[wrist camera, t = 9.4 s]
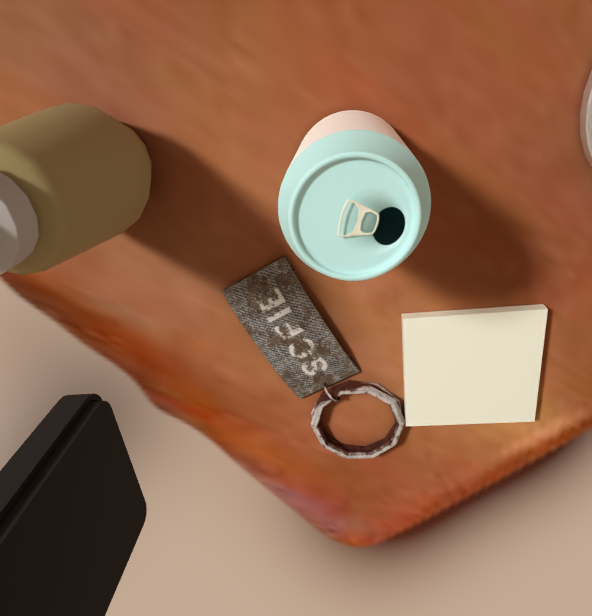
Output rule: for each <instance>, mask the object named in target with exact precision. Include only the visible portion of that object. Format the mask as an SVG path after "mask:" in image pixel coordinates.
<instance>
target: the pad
mask: <svg viewBox="0 0 592 616" xmlns="http://www.w3.org/2000/svg"><path fill="white" fill-rule="evenodd" d="M547 312H548V309H547V307H546V306H545V305H544V304H537V305H523V306H508V307H493V308H479V309H464V310H450V311H435V312H421V313H406V314H402V346H403V379H404V412H405V424H406V426H430V425H456V424H481V423H507V422H533V421H535V413H536V405H537V396H538V388H539V380H540V371H541V363H542V354H543V346H544V337H545V329H546V321H547Z"/></svg>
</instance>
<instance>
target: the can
mask: <svg viewBox="0 0 592 616" xmlns="http://www.w3.org/2000/svg"><path fill="white" fill-rule="evenodd" d="M430 211H431V194H430V188H429V183H428V180H427V177H426V174H425V172H424V170H423V168H422V166H421V165H420V163H419V161H418V160H417V159H416V158H415V156H414V155H413V154H412V152H411V151H410V150H409V148H408V147H407V146H406V145H405V143H404V142H403V141H402V139H401V138H400V137H399V135H398V134H397V133H396V132H395V130H394V129H393V128H392V127H391V126H390V125H389V124H388V123H387V122H386V121H384V120H383V119H381V118H380V117H378V116H376V115H374V114H371V113H368V112H364V111H357V110H348V111H341V112H337V113H334V114H332V115H329V116H327V117H325V118H324V119H322V120H321V121H319V122H318V123H317V124H316V125H314V126H313V127H312V128H311V130H310V131H309V132H308V133H307V134H306V136H305V137H304V139H303V141H302V143H301V145H300V147H299V149H298V151H297V153H296V155H295V157H294V158H293V160H292V162H291V164H290V166H289V168H288V170H287V172H286V175H285V177H284V179H283V182H282V185H281V188H280V192H279V199H278V215H279V221H280V225H281V229H282V232H283V234H284V237H285V239H286V241H287V243H288V244H289V246H290V247H291V249H292V250H293V251H294V253H295V254H296V255H297V256H298V257H299V258H300V259H301V260H302V261H303V262H304V263H305V264H307V265H308V266H309V267H311V268H312V269H314V270H316V271H318V272H320V273H322V274H324V275H326V276H329V277H332V278H335V279H339V280H346V281H361V280H367V279H371V278H375V277H377V276H380V275H382V274H384V273H386V272H388V271H390V270H391V269H393V268H395V267H396V266H398V265H399V264H400V263H402V262H403V261H404V260H405V259H406V258H407V257H408V256H409V255H410V254H411V253H412V252H413V251H414V249H415V248H416V247H417V245H418V244H419V242H420V241H421V239H422V237H423V235H424V233H425V230H426V228H427V225H428V221H429V217H430Z"/></svg>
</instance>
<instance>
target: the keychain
mask: <svg viewBox="0 0 592 616" xmlns="http://www.w3.org/2000/svg"><path fill="white" fill-rule="evenodd" d="M293 271H294V268H293V267H292V265H291V264H290V262H289V261H288V260H287V258H286V257H285V256H284V257H282V258H280V259H278V260H277V261H275V262H273V263H271V264H269V265H268V266H266V267H264V268H262V269H260V270H259V271H257V272H255V273H253V274H251V275H250V276H248V277H246V278H244V279H243V280H241V281H239V282H237V283H235V284H234V285H232V286H230V287H228V288H226V289H225V290H223V291H222V293H223V294H224V296H225V298H226V299H227V301H228V302H229V304H230V306H231V307H232V309H233V311H234V312H235V314H236V315H237V317H238V319H239V320H240V322H241V323H242V325H243V326H244V328H245V329H246V331H247V332H248V333H249V335H250V336H251V338H252V339H253V340H254V342H255V343H256V345H257V346H258V347H259V349H260V350H261V352H262V353H263V354H264V356H265V357H266V358H267V360H268V361H269V362H270V364H271V365H272V366H273V368H274V369H275V370H276V372H277V373H278V374H279V376H280V377H281V378H282V379H283V380H284V382H285V383H286V384H287V385H288V386H289V387H290V388H291V390H292V391H293V392H294V393H295V394H296V395H297V396H298V397H299V399H300V398H302V397H305V396H307V395H309V394H311V393H314V392H316V391H318V390H320V389H322V388H324V389H325V391H323V392H322V394H321V396H320V397H319V399H318V401H317V403H316V405H315V406H314V408H313V410H312V412H311V415H312V421H311V426H312V428H313V430H314V432H315V434H316V436H317V438H318V440H319V441H320V443H321V445H322V446H323V447H324V448H326V449H328V450H330V451H332V452H334V453H336V454H338V455H340V456H342V457H344V458H346V459H354V458H374V457H376V456H378V455H379V454H381V453H383V452H385V451H386V450H388V449H390V448H392V447H393V446H395V445H396V444H397V442H398V439H399V437H400V434H401V432H402V429H403V427H404V424H405V419H404V417H403V415H402V410H401V405H400V400H398V399H397V398H396V397H395V396H393V395H392V394H391V393H390V392H388V391H387V390H386V389H385V388H383V387H382V386H381V385H380V384H378V383H370V382H361V381H352V380H348V381H345V382H343V383H341V384H339V385H336V386H334V387H332V388H330V389H327V388H326V387H327V386H329V385H331V384H334V383H336V382H338V381H340V380H343V379H345V378H347V377H349V376H351V375H354V374H356V373H358V372H359V369H358V367H357V366H356V364H355V362H354V361H353V359H352V358H351V357H348V355H347V354H346V353H345V351H344V350H343V349H342V347H341V346H340V344H339V343H338V341H337V340H336V338H335V337H334V335H333V334H332V332H331V331H330V329H329V328H328V326H327V325H326V323H325V322H324V320H323V319H322V317H321V315H320V314H319V312H318V311H317V309H316V308H315V306H314V305H313V303H312V301H311V300H310V298H309V297H308V295H307V294H306V292H305V290H304V289H303V287H302V285H301V284H300V282H299V280H298V278H297V277H296V275H295V273H294V272H293ZM367 393H369V394H371V395H373V396H375V397H376V398H378V399H380V400H382V401H384V402H386V403H388V404H389V406H390V408H391V410H392V413H393V415H394V418H395V424H394V425H393V427H392V428H391V430H390V431H389V433H388V434H387V436H386V437H385V438H384V439H382V440H379V441H377V442H374V443H372V444H369V445H367V446H355V445H347V444H340V443H339V442H338V441H336V440H335V439H334V438H332V437H331V436H329V435H328V434H327V433H325V432H324V429H323V425H322V422H321V416H322V413H323V409H324V406H326V405H327V404H329V403H330V402H332V401H335V402H337V401H339V400H340V396H341V395H342V394H367ZM336 398H338V399H336Z"/></svg>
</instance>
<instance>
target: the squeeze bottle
mask: <svg viewBox="0 0 592 616" xmlns="http://www.w3.org/2000/svg"><path fill="white" fill-rule="evenodd" d="M151 169H152V163H151V160H150V157H149V154H148V151H147V148H146V146H145V144H144V143H143V142H142V140H141V139H140V138H139V137H138V135H137V134H136V133H135V132H134V130H132V129H131V128H129V127H127V126H126V125H124V124H122V123H121V122H119V121H118V120H116V119H114V118H113V117H111V116H109V115H108V114H106V113H104V112H103V111H101V110H99V109H98V108H96V107H91V106H85V105H80V104H74V103H65V104H62V105H58V106H55V107H51V108H47V109H44V110H41V111H39V112H36V113H33V114H31V115H28V116H25V117H23V118H20V119H18V120H15V121H12V122H10V123H7V124H4V125H2V126H0V275H1V274H3V273H4V272H10V273H16V274H21V275H25V274H30V273H35V272H40V271H45V270H48V269H50V268H52V267H54V266H56V265H58V264H60V263H62V262H64V261H66V260H68V259H70V258H72V257H74V256H76V255H78V254H80V253H82V252H84V251H86V250H88V249H90V248H92V247H94V246H96V245H98V244H100V243H102V242H105V241H107V240H109V239H111V238H113V237H115V236H117V235H119V234H121V233H122V232H124V231H125V230H126V229H128V228H129V227H130V226H131V225H133V224H134V223H135V222H136V221H138V220H139V219H140V216H141V214H142V212H143V210H144V208H145V206H146V204H147V202H148V199H149V194H150V186H151Z"/></svg>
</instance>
